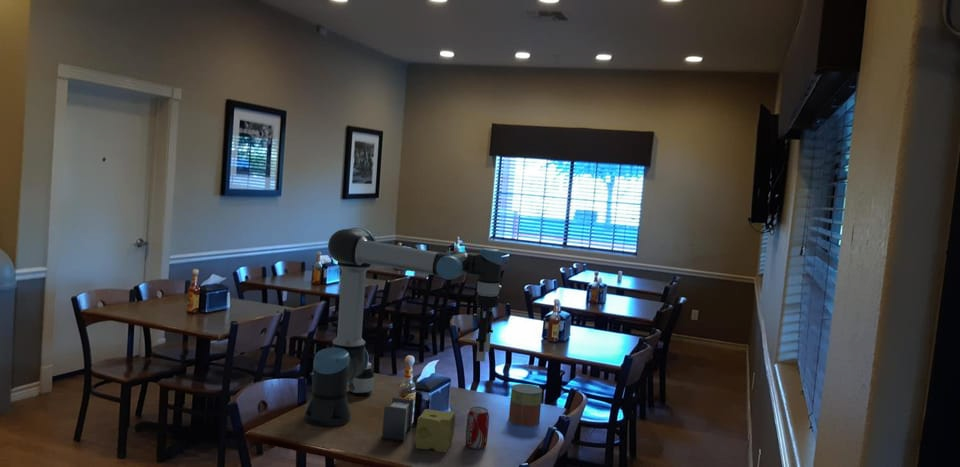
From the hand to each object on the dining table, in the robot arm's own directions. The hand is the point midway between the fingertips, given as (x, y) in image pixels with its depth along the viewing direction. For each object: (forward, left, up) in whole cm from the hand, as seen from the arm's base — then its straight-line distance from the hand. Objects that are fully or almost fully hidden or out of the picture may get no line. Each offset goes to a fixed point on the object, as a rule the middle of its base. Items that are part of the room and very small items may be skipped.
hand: (483, 356), depth 235 cm
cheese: (-11, -18, -26) cm, 34 cm away
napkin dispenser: (-24, -15, -26) cm, 38 cm away
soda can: (+2, -14, -26) cm, 30 cm away
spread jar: (-51, +22, -26) cm, 61 cm away
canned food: (+15, +16, -26) cm, 34 cm away
